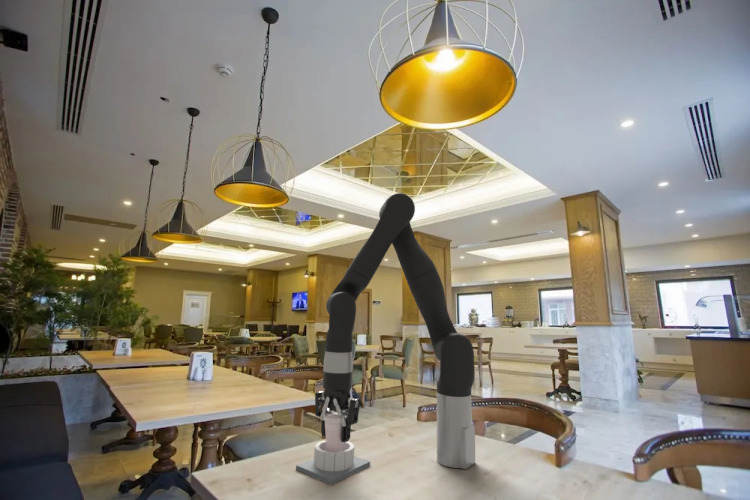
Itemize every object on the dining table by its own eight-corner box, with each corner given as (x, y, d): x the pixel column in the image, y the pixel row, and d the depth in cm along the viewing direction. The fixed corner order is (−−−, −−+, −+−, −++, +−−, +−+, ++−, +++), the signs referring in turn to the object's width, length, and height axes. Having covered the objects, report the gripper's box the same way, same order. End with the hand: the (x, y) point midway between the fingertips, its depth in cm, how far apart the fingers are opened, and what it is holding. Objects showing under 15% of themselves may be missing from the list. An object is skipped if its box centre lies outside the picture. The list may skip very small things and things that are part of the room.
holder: (370, 465, 94) (370, 444, 95) (331, 484, 83) (332, 460, 84) (335, 453, 101) (336, 434, 102) (295, 469, 90) (297, 447, 91)
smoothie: (345, 461, 89) (348, 400, 92) (319, 460, 89) (322, 399, 92) (348, 452, 96) (350, 395, 98) (323, 451, 96) (326, 394, 98)
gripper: (368, 371, 94) (366, 441, 92) (328, 365, 103) (325, 429, 100) (348, 374, 89) (346, 449, 86) (308, 367, 97) (304, 435, 95)
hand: (335, 438), depth 93 cm, fingers closed on smoothie, 6 cm apart
